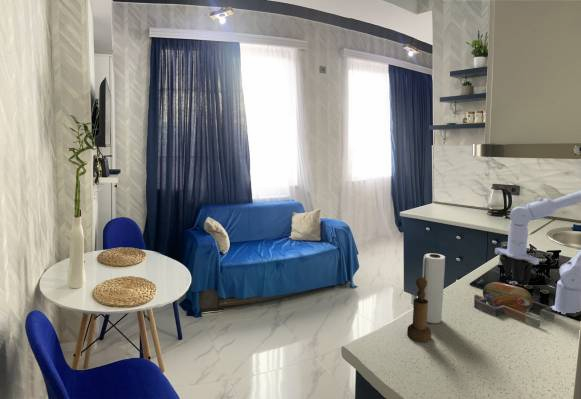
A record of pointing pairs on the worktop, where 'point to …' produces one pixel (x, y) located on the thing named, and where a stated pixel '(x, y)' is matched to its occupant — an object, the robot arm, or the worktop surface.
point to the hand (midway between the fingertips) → (514, 278)
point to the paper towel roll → (434, 285)
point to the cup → (515, 272)
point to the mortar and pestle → (420, 315)
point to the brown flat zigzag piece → (536, 308)
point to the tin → (508, 296)
